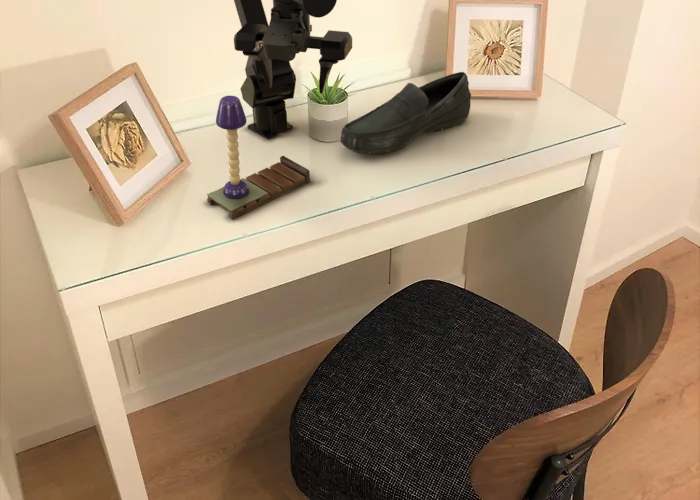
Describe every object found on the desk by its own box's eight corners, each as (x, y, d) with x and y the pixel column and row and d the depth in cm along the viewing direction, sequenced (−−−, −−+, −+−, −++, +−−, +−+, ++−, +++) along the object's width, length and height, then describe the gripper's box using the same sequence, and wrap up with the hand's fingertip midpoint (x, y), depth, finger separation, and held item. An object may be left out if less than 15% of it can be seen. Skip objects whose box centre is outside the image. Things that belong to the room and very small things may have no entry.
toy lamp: (251, 183, 126) (243, 91, 116) (253, 199, 122) (245, 104, 112) (222, 186, 125) (211, 93, 115) (223, 201, 122) (212, 106, 112)
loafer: (329, 150, 138) (327, 99, 132) (438, 103, 154) (441, 55, 148) (367, 172, 132) (367, 119, 126) (477, 120, 147) (482, 71, 141)
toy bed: (232, 220, 121) (231, 207, 119) (207, 202, 125) (205, 190, 123) (310, 182, 130) (309, 170, 128) (284, 167, 134) (283, 155, 132)
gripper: (216, 10, 115) (226, 104, 124) (334, 20, 111) (336, 116, 121) (242, -13, 124) (250, 77, 133) (352, -4, 120) (353, 87, 129)
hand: (295, 89), depth 129 cm, fingers open, 9 cm apart
